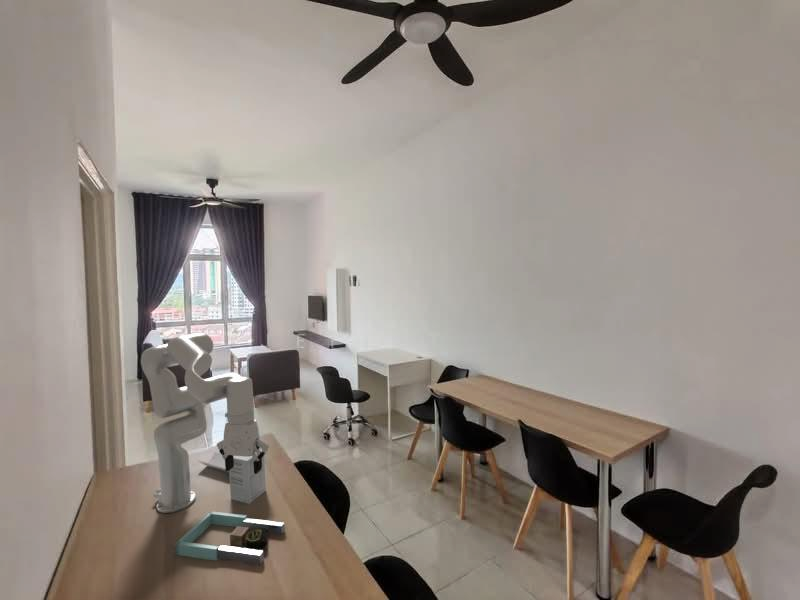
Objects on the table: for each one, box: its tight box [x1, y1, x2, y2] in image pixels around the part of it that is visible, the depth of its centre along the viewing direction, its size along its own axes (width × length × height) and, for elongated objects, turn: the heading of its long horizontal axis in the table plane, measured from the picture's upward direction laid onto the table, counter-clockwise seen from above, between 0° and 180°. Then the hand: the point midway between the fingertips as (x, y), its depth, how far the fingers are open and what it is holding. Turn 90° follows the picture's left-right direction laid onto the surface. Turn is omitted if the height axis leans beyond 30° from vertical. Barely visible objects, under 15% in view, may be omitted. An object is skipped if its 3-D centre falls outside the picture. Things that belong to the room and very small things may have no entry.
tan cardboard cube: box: [229, 526, 250, 548], centre depth 118 cm, size 4×4×4 cm
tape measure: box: [243, 528, 269, 551], centre depth 117 cm, size 7×7×4 cm
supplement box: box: [228, 448, 267, 505], centre depth 144 cm, size 10×9×17 cm
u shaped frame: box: [174, 510, 248, 561], centre depth 120 cm, size 14×16×4 cm
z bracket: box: [197, 452, 229, 473], centre depth 164 cm, size 12×25×6 cm
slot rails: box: [217, 517, 286, 566], centre depth 118 cm, size 14×15×3 cm
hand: (243, 470), depth 117 cm, fingers open, 9 cm apart
